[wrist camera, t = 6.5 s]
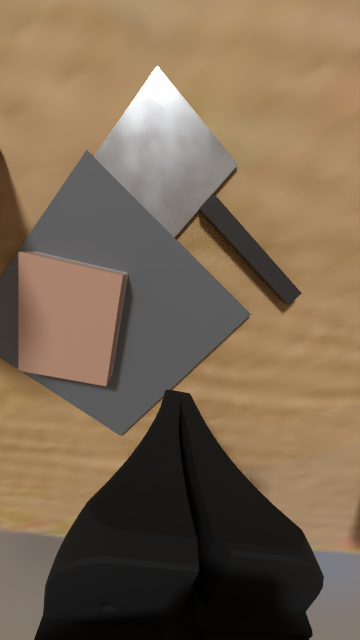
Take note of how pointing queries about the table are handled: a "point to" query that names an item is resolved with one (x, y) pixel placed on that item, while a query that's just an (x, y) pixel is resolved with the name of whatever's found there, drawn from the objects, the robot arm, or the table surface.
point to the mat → (126, 295)
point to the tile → (68, 317)
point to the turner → (180, 171)
